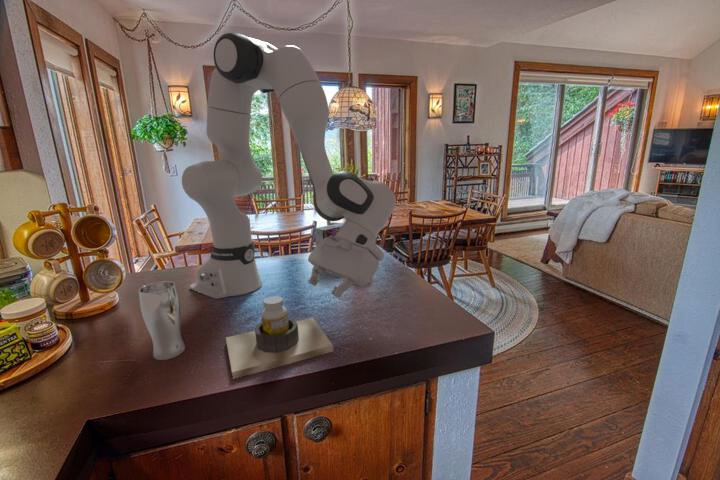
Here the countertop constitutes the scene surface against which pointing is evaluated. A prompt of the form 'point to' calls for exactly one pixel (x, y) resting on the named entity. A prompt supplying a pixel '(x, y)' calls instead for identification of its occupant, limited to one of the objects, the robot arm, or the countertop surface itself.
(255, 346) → the collar stand
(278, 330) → the supplement bottle
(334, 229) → the snack box
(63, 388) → the countertop surface
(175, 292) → the beer glass
